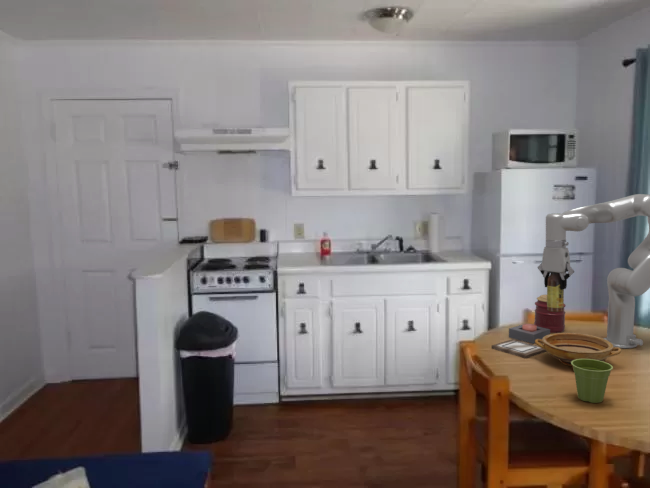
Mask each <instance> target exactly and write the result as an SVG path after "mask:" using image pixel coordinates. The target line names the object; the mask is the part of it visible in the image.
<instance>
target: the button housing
mask: <svg viewBox="0 0 650 488" xmlns="http://www.w3.org/2000/svg"><path fill="white" fill-rule="evenodd" d="M522 325H523V324H520V325H517V326H513V327H510V328H508V338H509V339H510V338H511V339H515V340H518V341H522V342H526V343H528V342H529V344H533V345H535V344H536V343H535V340H536V339H541V340H542V338H543V337H544V336H546V335H549V334H551V333H550V329H546V328H542V327H538V326H537V331H534V332H529V331H525V330H522ZM534 343H535V344H534Z"/></svg>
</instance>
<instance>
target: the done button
mask: <svg viewBox="0 0 650 488" xmlns="http://www.w3.org/2000/svg"><path fill="white" fill-rule="evenodd" d="M521 325H522V330H525V331H529V332H534V331H537V326H536V325H534V323H522V324H521Z"/></svg>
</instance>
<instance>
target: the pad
mask: <svg viewBox="0 0 650 488" xmlns="http://www.w3.org/2000/svg"><path fill="white" fill-rule="evenodd" d="M491 349H492V350H495V351H500V352H503V353H506V354H510V355H513V356H517V357H519V358H523V359H529V358H531V357H532V358H533V357H534V356H537V355H540V354H544V353H546V352H547V351H546V350H545V349H543V348H541V347H539V346H538V345H536V344H532V343H528V342H524V341H521V340H517V339H513V338H511V339H509V340H506V341H503V342H499V343H496V344H492V345H491Z"/></svg>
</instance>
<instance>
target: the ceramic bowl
mask: <svg viewBox="0 0 650 488" xmlns="http://www.w3.org/2000/svg"><path fill="white" fill-rule="evenodd" d="M535 345H537V346H539V347H541V348H543V349H545V350H546V352H547V353H548V355H550V356H551V357H553V358H554V359H556V360H557V359H558V360H559V361H560V362H561V364H563V365H565V366H569V367H573V365H572V364H571V362H572V361H573V360H576V359H594V360H599V361H603V362H605V360H607V359H608V358H611V357H615V356H618V355H620V354H621V353H622V348H619V347H613V344H612V343H611V342H609V341H607V340H605V339H603V338H602V337H600V336H595V335H591V334H586V333H585V334H584V333H578V332H576V333H575V332H561V333H550V334H549V335H546V336H544V337H543V338H542V340H541V339H536V340H535Z"/></svg>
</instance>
